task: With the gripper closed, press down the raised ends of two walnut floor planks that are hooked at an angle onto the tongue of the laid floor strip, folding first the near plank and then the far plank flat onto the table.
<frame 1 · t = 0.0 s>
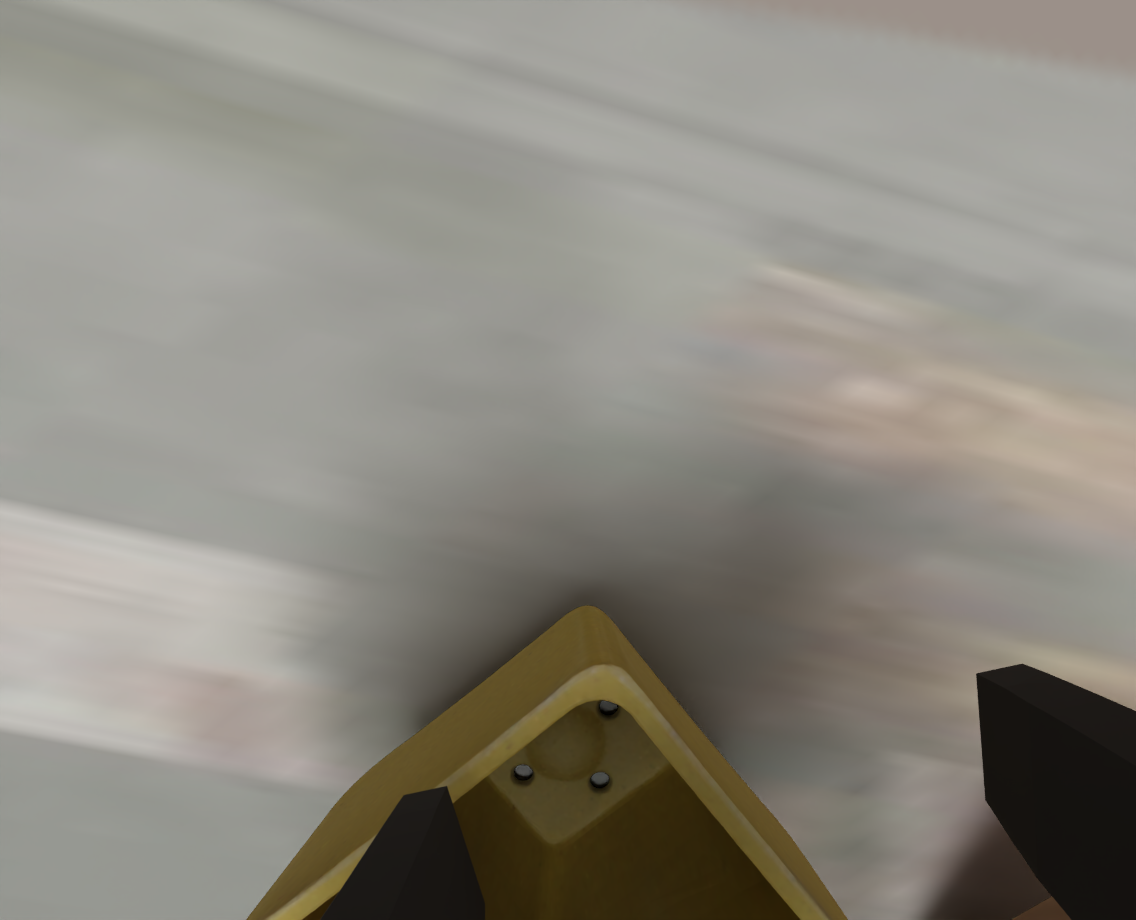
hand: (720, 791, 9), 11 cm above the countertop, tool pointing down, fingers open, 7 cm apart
flower pot: (569, 734, 20), on the countertop
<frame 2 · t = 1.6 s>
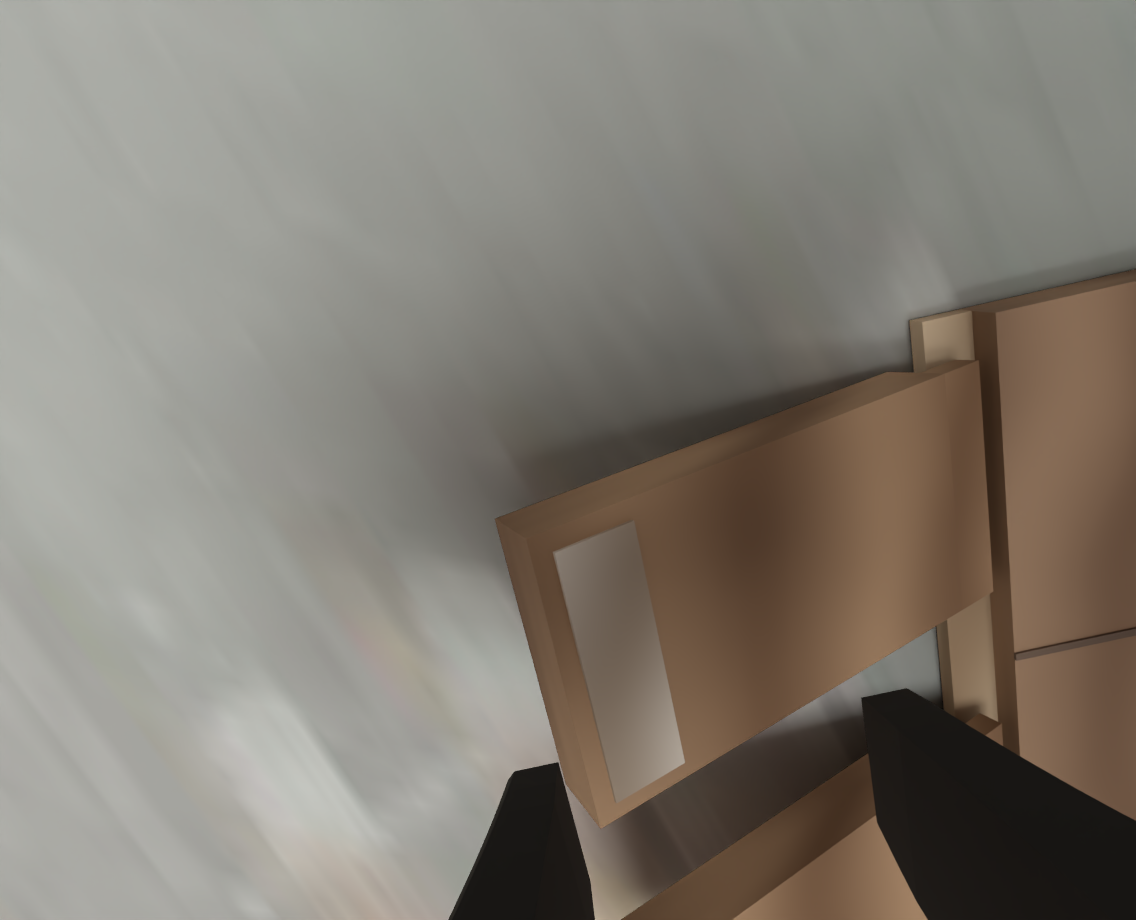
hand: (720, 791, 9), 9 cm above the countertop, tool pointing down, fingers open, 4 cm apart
laid floor: (979, 627, 19), on the countertop
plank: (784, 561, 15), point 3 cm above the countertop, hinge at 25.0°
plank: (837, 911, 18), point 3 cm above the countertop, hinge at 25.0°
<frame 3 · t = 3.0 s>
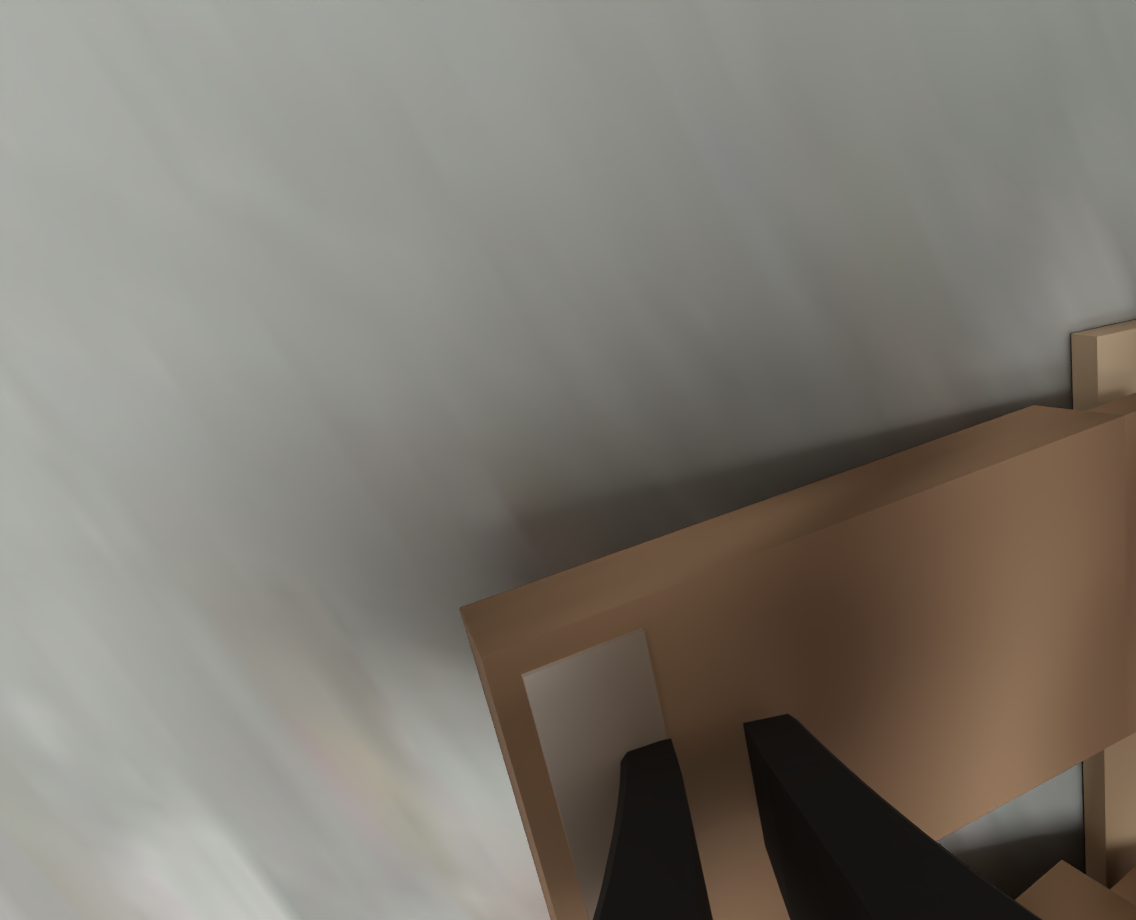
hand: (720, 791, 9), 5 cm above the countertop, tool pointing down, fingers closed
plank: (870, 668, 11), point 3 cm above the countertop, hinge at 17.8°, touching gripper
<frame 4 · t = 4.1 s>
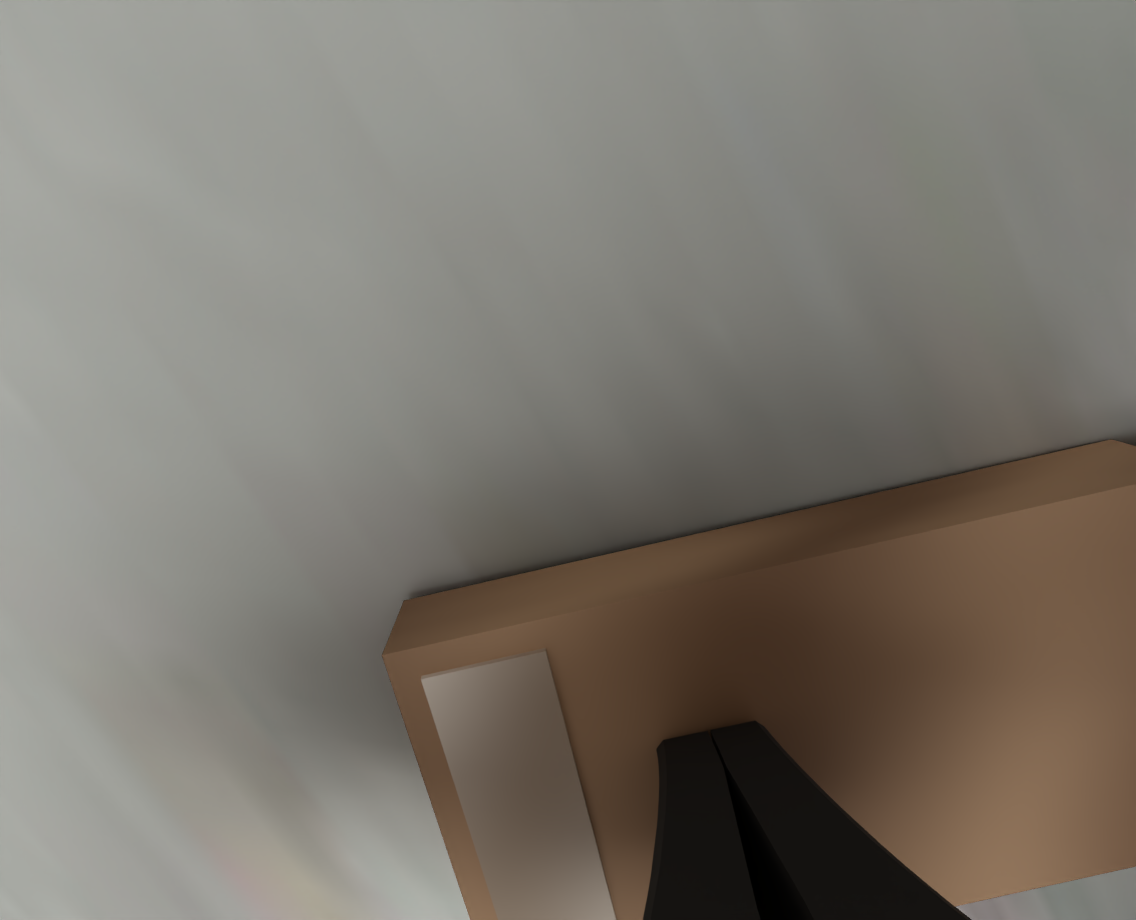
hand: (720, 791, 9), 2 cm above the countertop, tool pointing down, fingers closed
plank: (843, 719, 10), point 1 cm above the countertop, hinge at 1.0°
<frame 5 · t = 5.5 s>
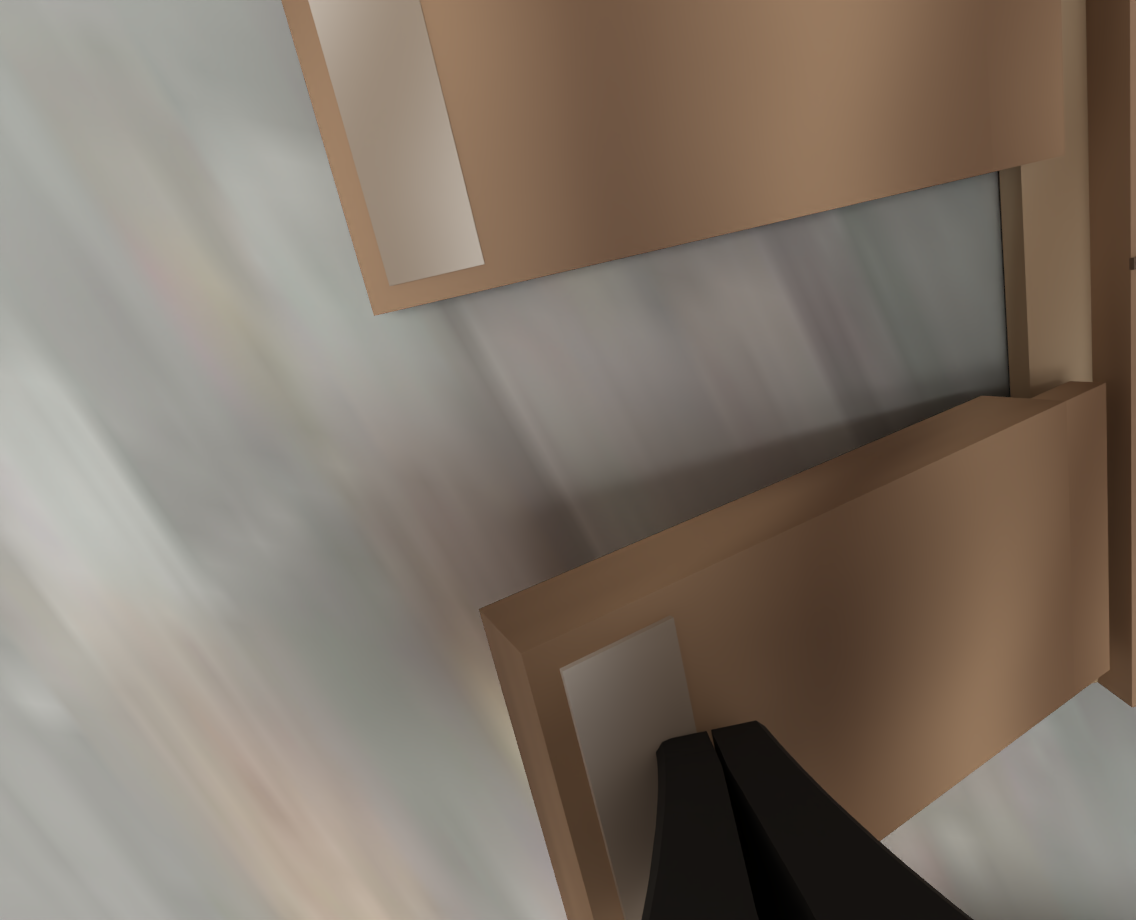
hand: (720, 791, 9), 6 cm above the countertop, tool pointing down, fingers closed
laid floor: (1066, 265, 13), on the countertop
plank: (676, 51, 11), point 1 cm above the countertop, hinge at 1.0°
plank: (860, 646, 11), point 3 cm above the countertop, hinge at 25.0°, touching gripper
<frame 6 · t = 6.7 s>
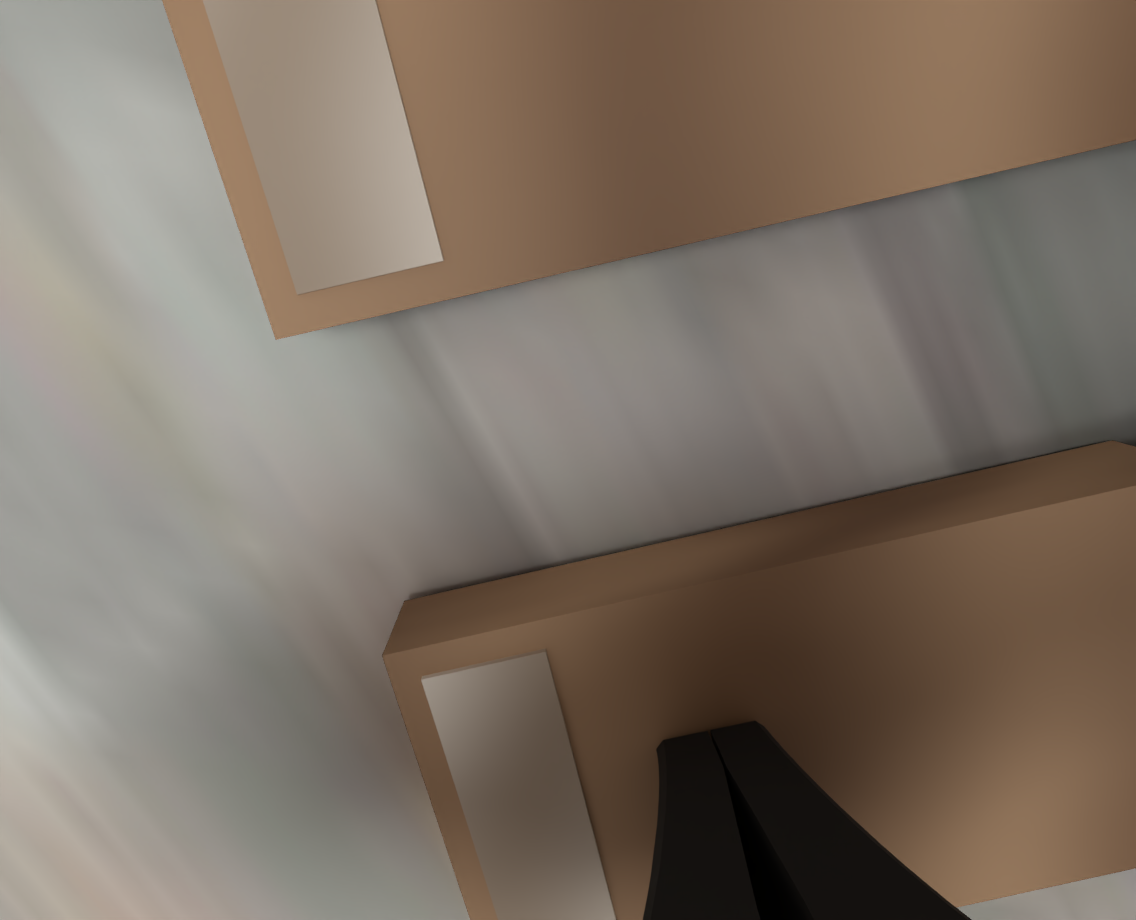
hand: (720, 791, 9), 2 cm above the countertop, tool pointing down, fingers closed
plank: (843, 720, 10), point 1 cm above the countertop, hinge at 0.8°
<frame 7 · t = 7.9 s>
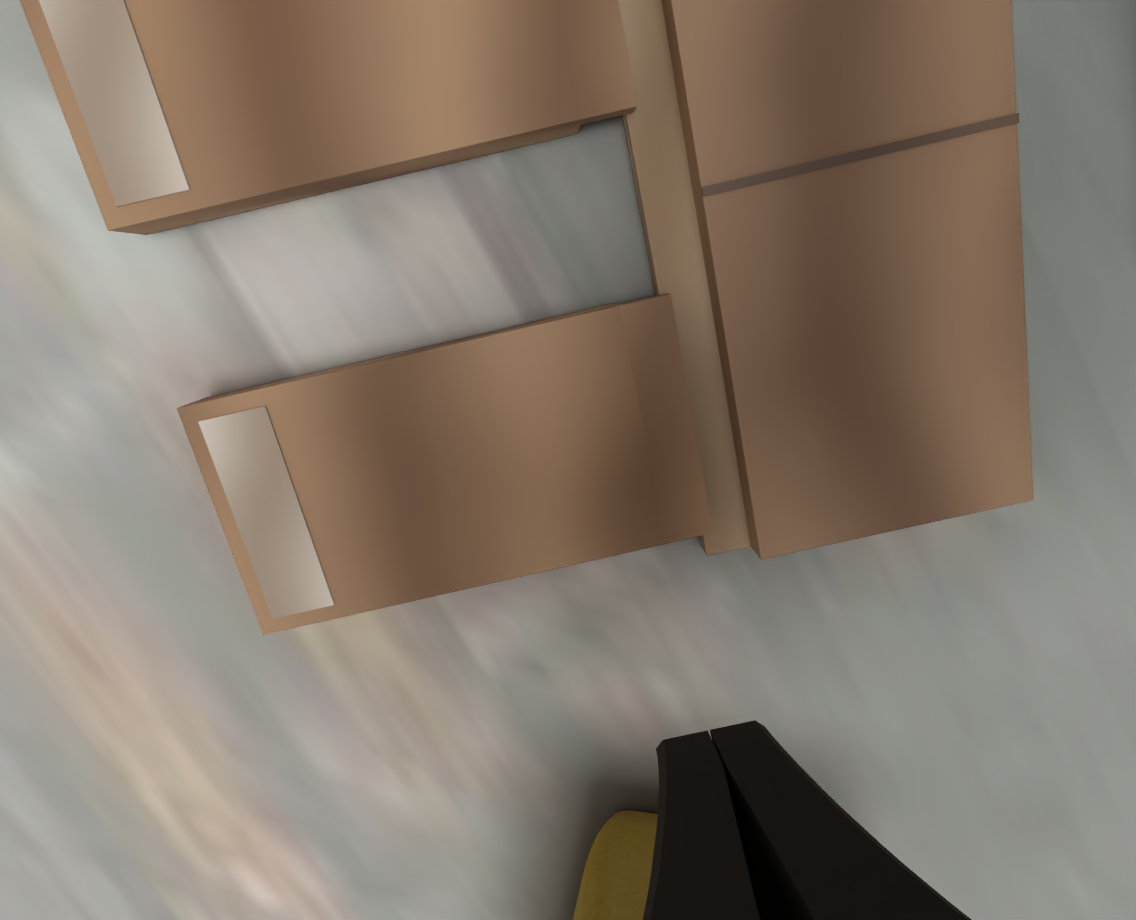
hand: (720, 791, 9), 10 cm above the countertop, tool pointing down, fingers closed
laid floor: (688, 199, 17), on the countertop
flower pot: (672, 870, 22), on the countertop
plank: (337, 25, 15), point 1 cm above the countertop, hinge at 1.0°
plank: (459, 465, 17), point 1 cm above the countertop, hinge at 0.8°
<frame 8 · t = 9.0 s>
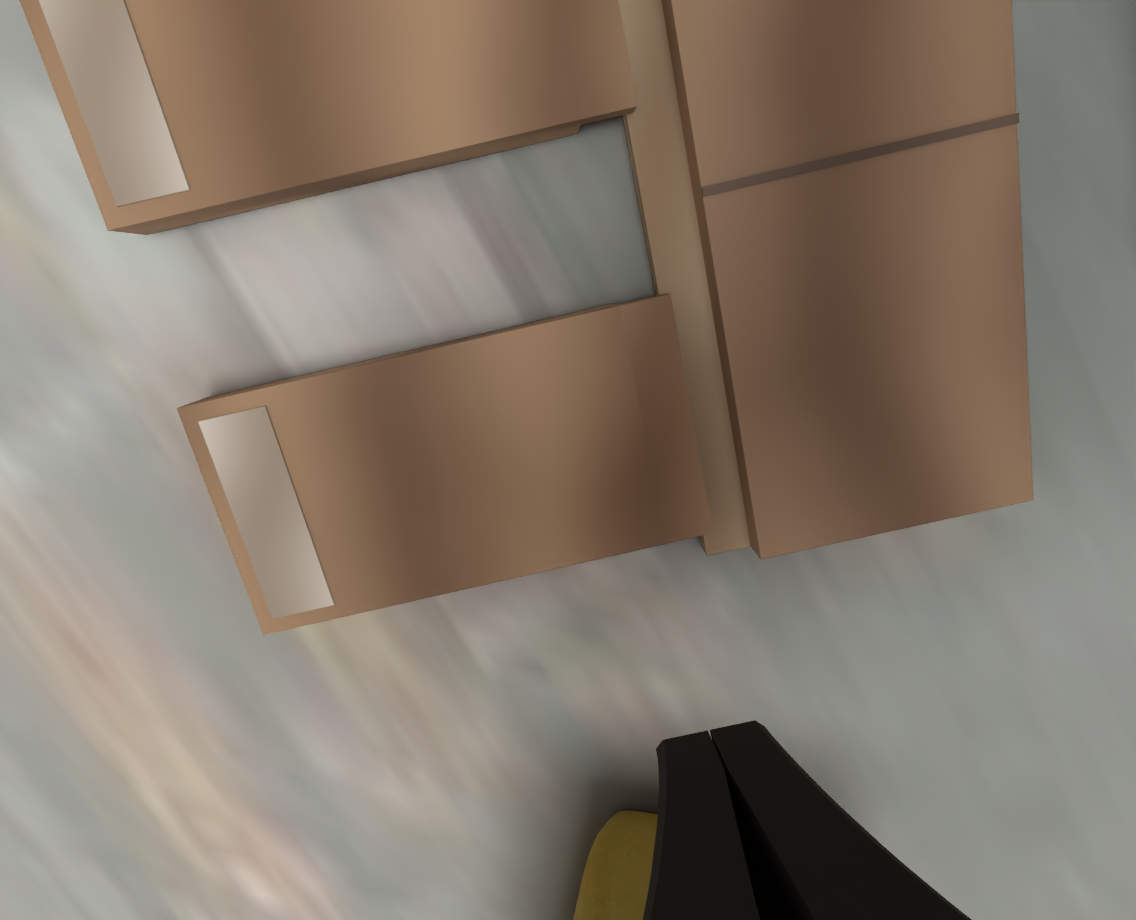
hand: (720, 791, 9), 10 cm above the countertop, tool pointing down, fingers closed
laid floor: (688, 199, 17), on the countertop
flower pot: (672, 870, 22), on the countertop
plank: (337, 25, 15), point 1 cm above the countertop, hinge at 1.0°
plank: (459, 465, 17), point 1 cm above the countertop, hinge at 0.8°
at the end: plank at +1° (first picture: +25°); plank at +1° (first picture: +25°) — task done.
